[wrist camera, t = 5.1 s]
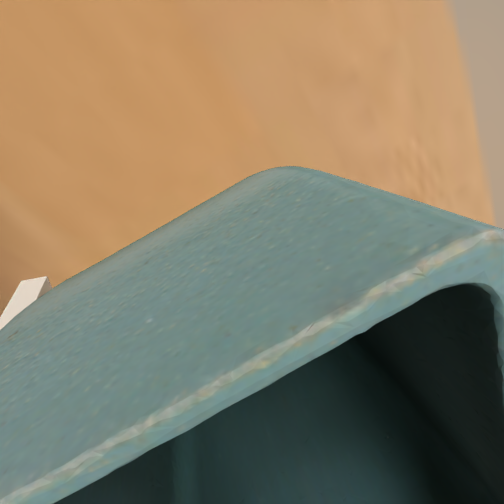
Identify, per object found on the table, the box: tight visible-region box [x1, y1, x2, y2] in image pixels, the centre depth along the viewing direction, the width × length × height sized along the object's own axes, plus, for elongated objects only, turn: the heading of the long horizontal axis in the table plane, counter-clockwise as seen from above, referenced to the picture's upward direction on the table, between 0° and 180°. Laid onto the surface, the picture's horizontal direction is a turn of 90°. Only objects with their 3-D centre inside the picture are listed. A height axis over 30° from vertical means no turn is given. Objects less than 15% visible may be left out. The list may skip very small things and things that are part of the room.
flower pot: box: [0, 166, 504, 504], centre depth 9 cm, size 9×9×9 cm
